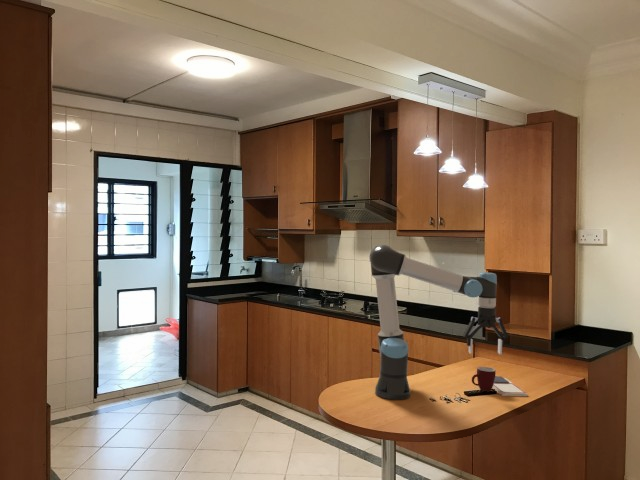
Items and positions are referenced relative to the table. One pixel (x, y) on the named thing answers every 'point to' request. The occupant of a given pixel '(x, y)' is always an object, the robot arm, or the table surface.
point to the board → (507, 387)
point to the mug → (485, 378)
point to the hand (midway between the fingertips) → (485, 353)
